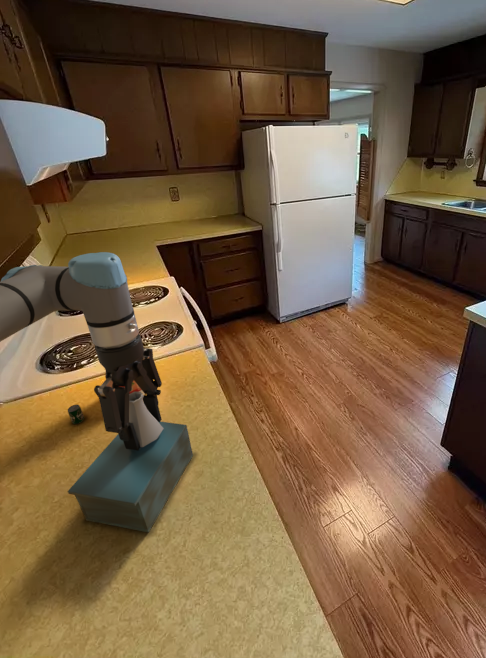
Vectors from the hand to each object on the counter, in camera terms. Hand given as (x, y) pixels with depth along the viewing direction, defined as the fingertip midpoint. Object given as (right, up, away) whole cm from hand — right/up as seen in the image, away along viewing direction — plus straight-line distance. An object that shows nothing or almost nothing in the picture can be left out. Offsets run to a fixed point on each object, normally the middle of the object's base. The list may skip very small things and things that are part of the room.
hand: (144, 433), depth 69 cm
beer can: (-26, -4, +18) cm, 32 cm away
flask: (0, 0, 0) cm, 0 cm away
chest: (0, -11, +1) cm, 11 cm away
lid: (-1, -4, -3) cm, 5 cm away
